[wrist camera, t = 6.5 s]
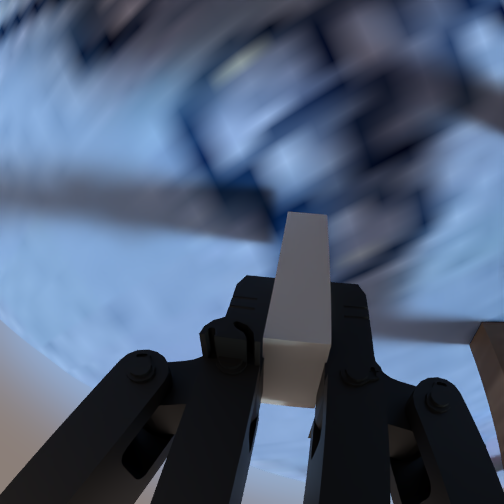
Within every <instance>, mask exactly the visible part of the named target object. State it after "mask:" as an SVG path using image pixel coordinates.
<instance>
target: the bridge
mask: <svg viewBox="0 0 504 504" xmlns="http://www.w3.org/2000/svg"><path fill="white" fill-rule="evenodd" d="M470 348H471V351H472V354H473V356H474V359H475V362H476V365H477V368H478V371H479V374H480V377H481V380H482V383H483V387H484V390H485V393H486V397H487V400H488V403H489V407H490V411H491V414H492V418H493V422H494V426H495V430H496V434H497V439H498V443H499V448H500V453H501V458H502V463H503V469H504V322H482V323H481V325H480V327H479V329H478V331H477V332H476V334H475V336H474V338H473V340H472V341H471V343H470Z"/></svg>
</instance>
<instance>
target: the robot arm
mask: <svg viewBox="0 0 504 504" xmlns="http://www.w3.org/2000/svg"><path fill="white" fill-rule="evenodd" d="M199 335H200V341H201V347H202V353H203V356H202V357H199V358H197V359H194V360H188V361H178V362H167V361H166V359H165V357H164V356H162V355H161V354H159V353H158V352H155V351H151V350H137V351H134V352H132V353H129V354H127V355H126V356H125V357H123V358H122V359H121V360H120V361H119V362H118V363H117V364H116V365H115V366H114V367H113V368H112V370H111V371H110V372H109V373H108V374H107V375H106V376H105V377H104V378H103V379H102V380H101V382H100V383H99V384H98V385H97V386H96V387H95V388H94V389H93V390H92V391H91V392H90V394H89V395H88V396H87V397H86V398H85V399H84V400H83V401H82V402H81V404H80V405H79V406H78V407H77V408H76V409H75V410H74V411H73V412H72V414H71V415H70V416H69V417H68V418H67V419H66V420H65V421H64V423H63V424H62V425H61V426H60V427H59V428H58V429H57V430H56V431H55V433H54V434H53V435H52V436H51V437H50V438H49V439H48V440H47V441H46V443H45V444H44V445H43V446H42V447H41V448H40V449H39V451H38V452H37V453H36V454H35V455H34V456H33V457H32V459H31V460H30V461H29V462H28V463H27V464H26V466H25V467H24V468H23V469H22V470H21V471H20V472H19V473H18V475H17V476H16V477H15V478H14V479H13V480H12V482H11V483H10V484H9V485H8V486H7V487H6V489H5V490H4V491H3V492H2V493H1V494H0V504H134V503H135V502H136V500H137V499H138V497H139V496H140V495H141V493H142V492H143V490H144V489H145V488H146V486H147V485H148V484H149V482H150V481H151V479H152V478H153V477H154V475H155V474H156V472H157V471H158V469H159V468H160V466H161V465H162V464H163V462H164V461H165V459H166V458H167V459H166V462H165V464H164V467H163V470H162V473H161V476H160V479H159V481H158V484H157V487H156V490H155V492H154V495H153V498H152V501H151V504H241V501H242V497H243V492H244V487H245V483H246V479H247V474H248V469H249V465H250V460H251V455H252V450H253V445H254V441H255V436H256V431H257V426H258V421H259V408H260V403H266V404H275V405H283V406H293V407H304V408H315V404H316V408H315V418H314V421H313V424H312V428H311V431H310V434H309V437H308V438H311V441H310V451H309V461H308V469H307V478H306V486H305V494H304V501H303V504H390V493H391V497H392V500H393V503H394V504H504V492H503V489H502V486H501V484H500V481H499V478H498V476H497V473H496V471H495V468H494V466H493V463H492V461H491V458H490V456H489V454H488V451H487V449H486V447H485V444H484V442H483V440H482V438H481V435H480V433H479V431H478V429H477V427H476V424H475V422H474V420H473V418H472V416H471V414H470V412H469V410H468V408H467V406H466V404H465V401H464V399H463V397H462V395H461V394H460V392H459V391H458V389H457V388H456V387H455V385H453V384H452V383H450V382H449V381H447V380H445V379H442V378H438V377H435V378H427V379H425V380H423V381H421V382H420V383H419V384H418V385H417V386H413V385H410V384H406V383H403V382H400V381H397V380H395V379H392V378H390V377H389V376H387V375H386V374H385V373H383V371H382V370H381V367H380V366H379V365H378V364H377V363H376V361H375V357H374V351H373V342H372V334H371V327H370V320H369V312H368V306H367V299H366V295H365V293H364V292H363V291H362V289H361V288H360V287H359V285H358V284H346V283H335V282H330V260H329V239H328V222H327V215H321V214H310V213H298V212H288V215H287V221H286V226H285V231H284V236H283V241H282V247H281V252H280V257H279V262H278V267H277V272H276V277H275V278H269V277H259V276H249V275H246V276H245V277H244V278H243V279H242V280H241V281H240V282H239V283H238V284H237V285H236V288H235V291H234V294H233V298H232V300H231V302H230V306H229V308H228V311H227V314H226V317H223V318H220V319H216V320H213V321H212V322H210V323H208V324H207V325H205V326H204V328H203V329H202V330H201V332H200V333H199Z"/></svg>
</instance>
